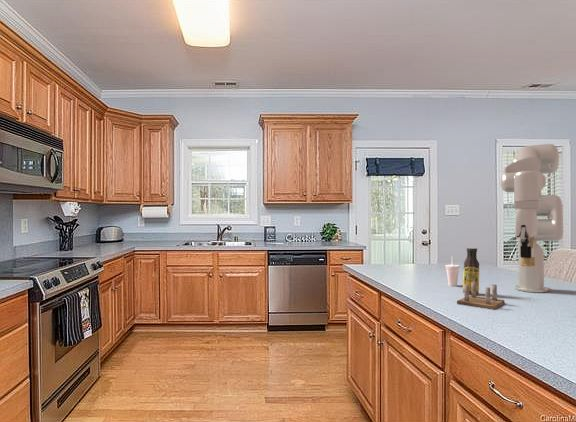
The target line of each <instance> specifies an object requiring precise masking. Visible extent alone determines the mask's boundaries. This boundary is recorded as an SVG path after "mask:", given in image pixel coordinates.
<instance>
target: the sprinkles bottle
mask: <svg viewBox="0 0 576 422" xmlns="http://www.w3.org/2000/svg"><path fill="white" fill-rule="evenodd" d="M520 235H521V232H520ZM534 235H535V232H534ZM525 237H528V236H525ZM527 242H528V240H527ZM530 247H531V258H522V257H521V265H522V266H528V267H532V266H535V242H534V237H532V238H530Z"/></svg>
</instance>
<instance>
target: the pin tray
mask: <svg viewBox="0 0 576 422" xmlns="http://www.w3.org/2000/svg"><path fill="white" fill-rule="evenodd" d="M497 288H498V286H497V284H491V287H487V286H485V288H484V289H485V291H484V292H485V297H483V296H477V295H476V282H471V289H472V295H470V294H469V285H464V293H463V294H464V296H463V298H460V299H458V300H457V301H456V305H462V306H467V307H474V308H479V307H480V308H481V309H486V308H487V310H492V311H493V310H496V309H497V308H499V307H501V306H503V305H504V304H505V303H506V302H505V299H498V291H497ZM480 308H479V309H480Z"/></svg>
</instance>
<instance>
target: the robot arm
mask: <svg viewBox="0 0 576 422" xmlns="http://www.w3.org/2000/svg"><path fill="white" fill-rule="evenodd" d="M516 153H517V154H516V157H514V158H513V159H512V160H511V163H510V164H508V165H506V166H505V167H504V168H503V170H502V172H501V177H500V187H501V189H502V191H504V192H505V193H513V194H514V198H513V199H514V210H515V211H516V214H515V233H514V234H515V237H516V240H517V247H518V284H516V285H515V286H514V289H515V290H517V291H522V292H527V293H547V292H549V290H550V289H549V288H548V287H546V286H545V262H544V261H545V260H544V259H545V258H544V257H545V256H544V255H545V254H544V250H543V248H542V247H541V246H540V244H538V243H537V242H539V241H540V242H558V241H561V240H562V239H563V237H564V216H563V215H564V214H563V202H562V199H561V197H560V196H559V195H557V194H542V190H543V189H544V188H545V187H546V184H547V183H546V182H547V178H546V176H545V174H547V175H548V174H553V173H555V172H557V171H558V169H559V165H560V162H559V161H560V155H559V154H560V152H559V149H558V147H557V146H556V145H555V144H553V143H542V144H532V145H525V146H524V147H521V148H519V150H518V151H517V152H516ZM538 217H548V218H544V219H543V218H542V219H541V218H538ZM520 232H521V235H520ZM534 232H535V235H534ZM525 236H528V237H525ZM532 237H534V242H535V266H532V267H528V266H522V265H521V257H522V258H531V247H530V238H532ZM527 240H528V242H527Z"/></svg>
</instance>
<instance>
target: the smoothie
mask: <svg viewBox="0 0 576 422" xmlns="http://www.w3.org/2000/svg"><path fill="white" fill-rule="evenodd" d="M453 262H454V256H453V255H451V264H445V265H444V266H445V267H444V268H445V270H446V278H447V283H448V286H449V287H458V280H459V272H460V268H461V266H460V265H459V264H454V263H453Z"/></svg>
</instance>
